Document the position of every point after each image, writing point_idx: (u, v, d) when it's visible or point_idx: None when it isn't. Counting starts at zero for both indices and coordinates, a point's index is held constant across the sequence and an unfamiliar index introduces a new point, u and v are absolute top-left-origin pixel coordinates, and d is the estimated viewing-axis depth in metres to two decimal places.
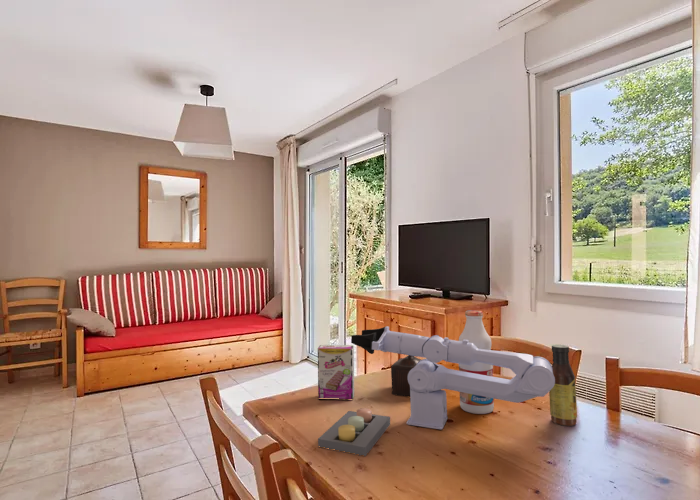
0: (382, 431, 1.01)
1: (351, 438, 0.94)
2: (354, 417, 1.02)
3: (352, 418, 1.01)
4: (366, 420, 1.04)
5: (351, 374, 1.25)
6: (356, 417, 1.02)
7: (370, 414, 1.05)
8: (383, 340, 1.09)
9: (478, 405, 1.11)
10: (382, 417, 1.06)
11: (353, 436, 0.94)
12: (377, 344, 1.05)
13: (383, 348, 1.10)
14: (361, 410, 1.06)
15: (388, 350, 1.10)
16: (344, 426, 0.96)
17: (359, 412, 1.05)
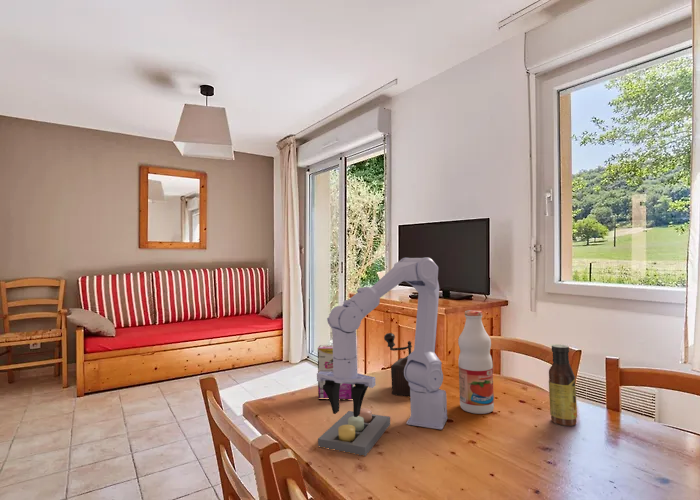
0: (382, 431, 1.01)
1: (351, 438, 0.94)
2: (354, 417, 1.02)
3: (352, 418, 1.01)
4: (366, 420, 1.04)
5: None
6: (356, 417, 1.02)
7: (370, 414, 1.05)
8: (355, 378, 0.94)
9: (478, 405, 1.11)
10: (382, 417, 1.06)
11: (353, 436, 0.94)
12: (373, 380, 0.92)
13: (357, 375, 0.96)
14: (361, 410, 1.06)
15: None
16: (344, 426, 0.96)
17: None
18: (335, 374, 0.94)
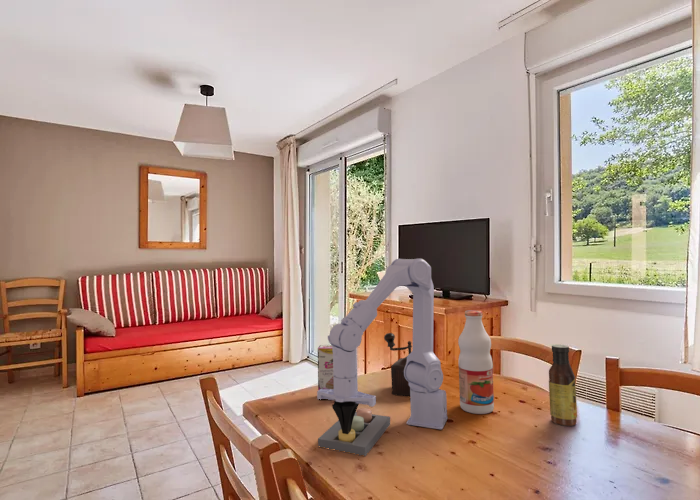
0: (382, 431, 1.01)
1: (351, 442, 0.94)
2: (354, 417, 1.02)
3: None
4: (366, 420, 1.04)
5: None
6: (356, 417, 1.02)
7: (370, 414, 1.05)
8: (355, 396, 0.94)
9: (478, 405, 1.11)
10: (382, 417, 1.06)
11: (353, 440, 0.94)
12: (373, 399, 0.92)
13: (358, 393, 0.96)
14: (361, 410, 1.06)
15: None
16: None
17: (359, 412, 1.05)
18: (335, 393, 0.94)
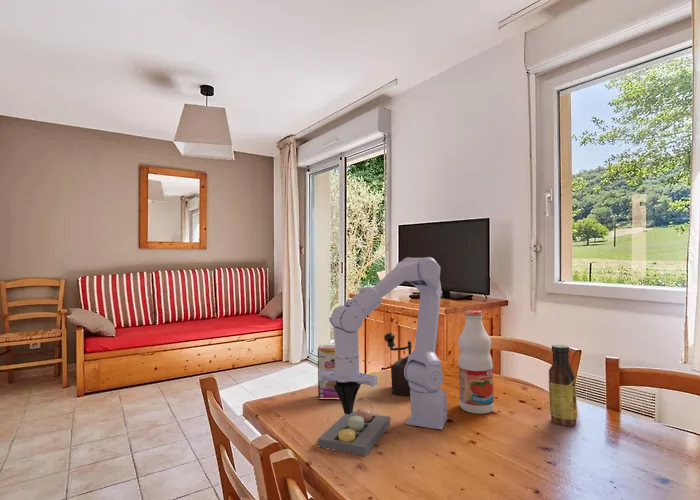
0: (382, 431, 1.01)
1: (351, 442, 0.94)
2: (354, 417, 1.02)
3: (352, 418, 1.01)
4: (366, 420, 1.04)
5: None
6: (356, 417, 1.02)
7: (370, 414, 1.05)
8: (357, 377, 0.95)
9: (478, 405, 1.11)
10: (382, 417, 1.06)
11: (353, 440, 0.94)
12: (375, 379, 0.93)
13: (359, 374, 0.97)
14: (361, 410, 1.06)
15: None
16: (344, 430, 0.96)
17: (359, 412, 1.05)
18: (337, 373, 0.95)
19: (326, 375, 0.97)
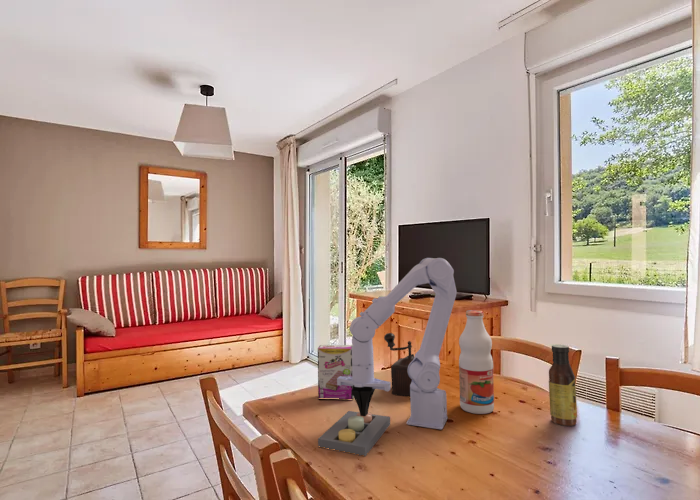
0: (382, 431, 1.01)
1: (351, 442, 0.94)
2: (354, 417, 1.02)
3: (352, 418, 1.01)
4: None
5: (351, 374, 1.25)
6: (356, 417, 1.02)
7: (370, 418, 1.05)
8: (372, 382, 1.04)
9: (478, 405, 1.11)
10: (382, 417, 1.06)
11: (353, 440, 0.94)
12: (388, 384, 1.02)
13: (374, 379, 1.06)
14: None
15: None
16: (344, 430, 0.96)
17: None
18: (354, 379, 1.04)
19: (344, 380, 1.06)
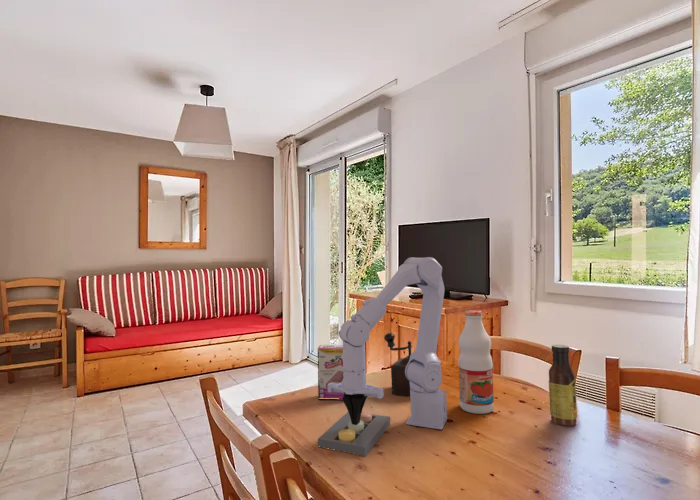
0: (382, 431, 1.01)
1: (351, 442, 0.94)
2: None
3: None
4: None
5: None
6: None
7: (370, 418, 1.05)
8: (364, 389, 0.99)
9: (478, 405, 1.11)
10: (382, 417, 1.06)
11: (353, 440, 0.94)
12: (381, 391, 0.97)
13: (366, 386, 1.01)
14: (361, 414, 1.06)
15: None
16: (344, 430, 0.96)
17: None
18: (345, 385, 0.99)
19: (334, 387, 1.01)
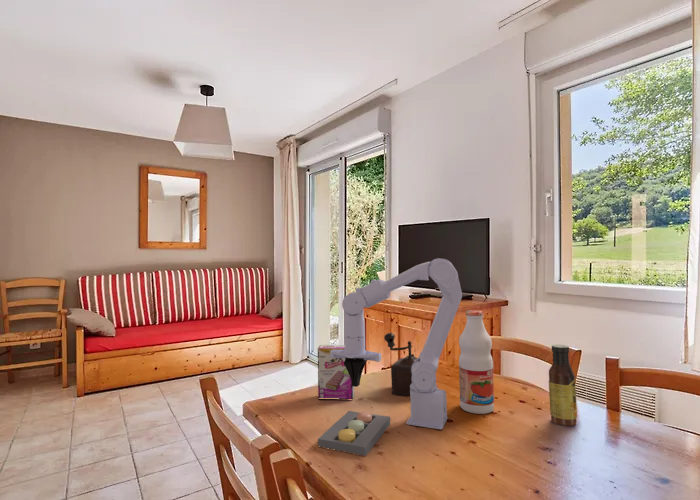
0: (382, 431, 1.01)
1: (351, 442, 0.94)
2: (354, 421, 1.02)
3: (352, 422, 1.01)
4: None
5: None
6: (356, 421, 1.02)
7: (370, 418, 1.05)
8: (364, 354, 1.09)
9: (478, 405, 1.11)
10: (382, 417, 1.06)
11: (353, 440, 0.94)
12: (379, 355, 1.07)
13: (365, 352, 1.11)
14: (361, 414, 1.06)
15: None
16: (344, 430, 0.96)
17: (359, 416, 1.05)
18: (346, 351, 1.09)
19: (336, 353, 1.11)
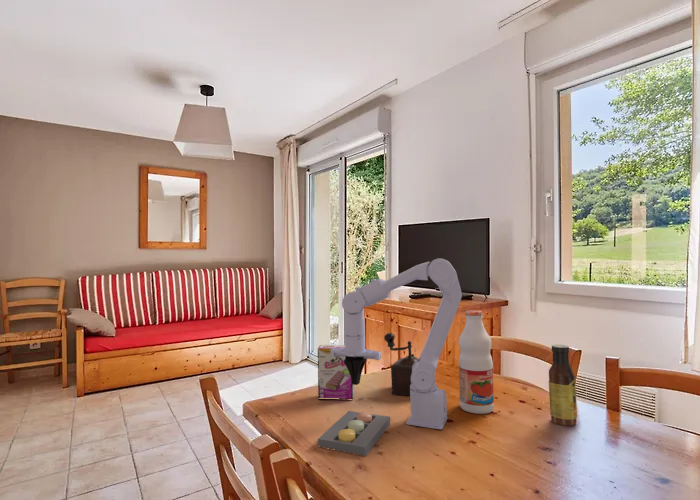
0: (382, 431, 1.01)
1: (351, 442, 0.94)
2: (354, 421, 1.02)
3: (352, 422, 1.01)
4: None
5: None
6: (356, 421, 1.02)
7: (370, 418, 1.05)
8: (364, 352, 1.10)
9: (478, 405, 1.11)
10: (382, 417, 1.06)
11: (353, 440, 0.94)
12: (379, 354, 1.08)
13: (365, 350, 1.12)
14: (361, 414, 1.06)
15: None
16: (344, 430, 0.96)
17: (359, 416, 1.05)
18: (346, 349, 1.10)
19: (337, 351, 1.12)
